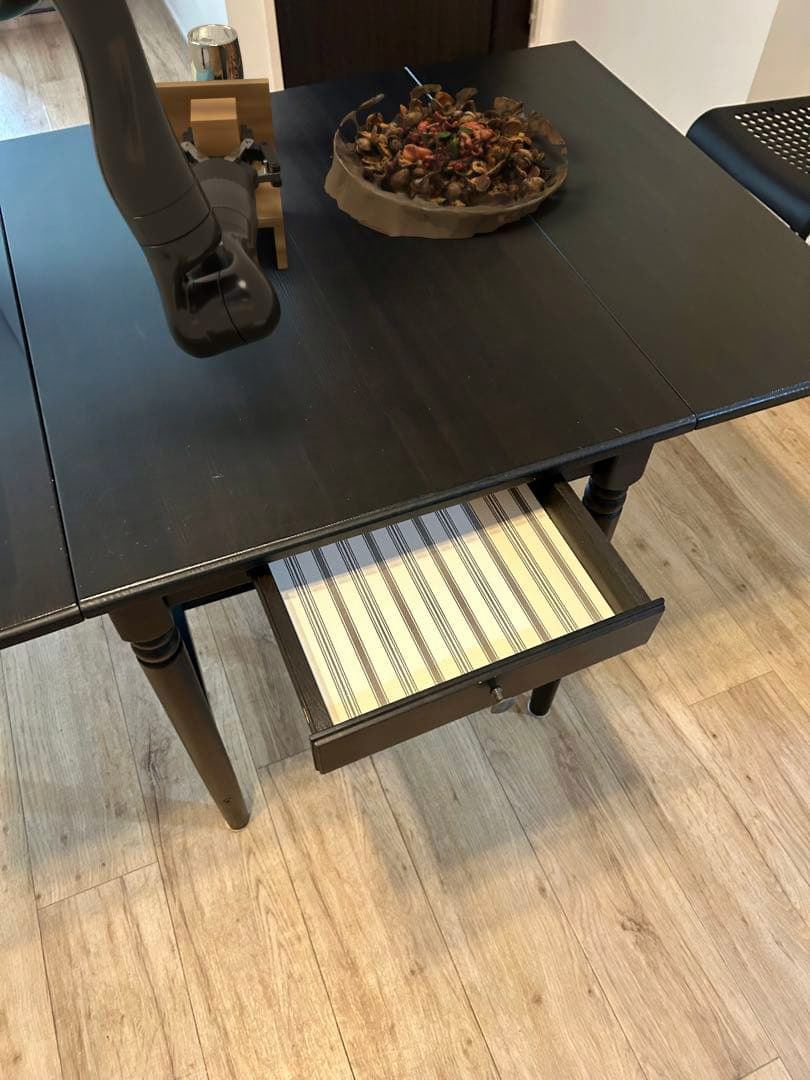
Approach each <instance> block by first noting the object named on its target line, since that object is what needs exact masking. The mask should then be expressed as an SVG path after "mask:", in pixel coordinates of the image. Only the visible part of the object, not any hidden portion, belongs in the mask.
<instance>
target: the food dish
mask: <svg viewBox="0 0 810 1080" xmlns="http://www.w3.org/2000/svg"><path fill="white" fill-rule="evenodd" d="M442 89H443V88H442V86H441V85H440V84H424V85H416V86H415V87H414V88H413V89H412V91H410V92H409V93H410V102H409V103H408V109H407V108H406V106H404V105H403V104H400V105H399V113H397V114H396V115H395V117H394V119H393V120H392V121H391V122H390V123H388V124H386V123H384V121H383V120H384V119H383V115H382V114H381V113H380V112H374V113H372V114H370V115H368V117H367V118H366V121H365V124H364V125H361V126H360V125H359V122H358V120H357V113H358V111H360V110H361V109H365V110H366V109H367V110H368V109H369V108H370V107H371V106H372V105H376V104H377V103H379V102H380V101H381V100H382V99H383V98H384V97H385V95H384V94H383V93H380V94H376V96H375V97H372V98H371V99H368V100H366V101H365V102H363V103H362V104H361V105H360V106H359V107H358V109H357V110H352V111H350V112H349V113H348V114H347V115H346V116H345V117H344V118H343V119H342V120H341V121H340V124H339V127H342V126H344V125H343V124H344V123H345V122H346V121H348V120H351V121H352V122H353V123H354V124H355V125H356V135H355V136H354V143H351V142H347V143H345V142H344V141H343V140H342V137H341V135H340V129H339V128H337V130H336V132H335V134H334V138H333V155H330V159H332V158H333V159H332V165H331V167H330V169H329V171H328V173H327V175H326V176H325V182H324V186H323V188H324V190H325V193H326V194H328V195H329V197H331V198H332V199H334V200H336V203H337V207H338V209H340V210H341V211H342V212H344V213H346V214H348V215H349V216H350V217H351V218H352V219H354V220H356V221H357V222H358V224H360V225H363V226H364V227H368V228H369V229H372V230H373V231H376V232H377V233H381V234H383V235H387V236H388V237H390V238H391V237H393V238H394V237H418V238H426V239H434V240H436V239H437V240H438V239H439V240H440V239H445V240H446V239H447V240H448V239H449V240H451V239H469V238H472V237H474V235H475V234H486V233H491V232H492V233H493V232H494V231H495V230H497V229H498V228H499V227H501V226H504V225H505V224H507V223H508V224H511V223H512V222H517V221H519V220H521V218H523V217H525V216H526V215H528V214H531V213H533V212H536V211H537V210H538V208H539V206H540V204H541V203H542V202H543V201H544V200H545V199H547V198H548V197H550V196H551V195H552V194H554V193H556V192H557V190H558V189H559V188H560V187H561V185H562V184H564V181H565V179H566V178H567V177H568V170H569V169H568V167H569V161H568V159H565V162H564V163H563V164H560V165H559V166H558V167H556V168H555V172H556V175H555V176H554V177H553V178H552V179H551V180H549V181H547V180H548V179H549V177H550V176H551V174H552V169H551V167H549V165H544V164H545V159H546V156H545V152H544V151H542V152H541V153H539V152H538V149H537V148H536V147H533V141H532V140H531V139H532V137H534V136H536V135H537V134H538V132H539V136H541V137H545V138H547V140H548V143H549V144H550V145H551V146H556V147H557V146H558V147H561V146H563V145H566V142H565V141H564V139H563V138H562V136H561V134H560V133H559V132H558V131H557V129H556V128H554V126H553V125H552V124H551V123H550V122H549V120H547V119H545V118H544V117H543V113H542V111H541V112H540V111H537V110H536V109H532V110H531V111H529V112H528V115H527V117H526V116H525V111H524V110H525V107H524V102H523V99H522V98H520V101H519V102H516V101H515V100H513V99H510V98H507V97H505V96H497V97H495V99H494V102H493V107H494V109H495V110H492V109H490V110H486V111H485V112H483V113H482V112H479V111H477V109H476V103H475V102H474V100H473V99H472V100H471V98H473V97H474V96H475V95H476V94H478V93H479V90H478V89H477V88H476V87H465V88H463V89H462V90H461V91H459V92H457V93H455V99H456V103H455V100H454V98H453V96H451V95H449V94H448V93H447V92H443V91H442ZM432 92H433V93H436V94H435V96H434V98H431V99H430V102H428V104H427V106H425V107H423V105H424V103H422V101H421V100H420V99H419V98H420V97H421V96H422V95H424V94H426V95H430V94H431V93H432ZM507 120H508V121H507ZM535 134H536V135H535ZM567 154H568V149H567V147H563V148H562V149H561V152H560V155H561V156H564V155H567ZM545 170H549V171H545ZM546 181H547V182H546Z"/></svg>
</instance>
